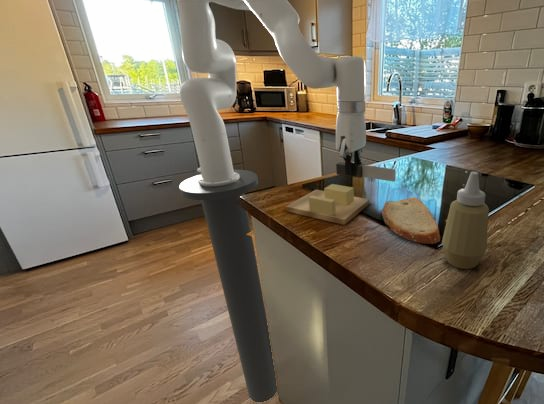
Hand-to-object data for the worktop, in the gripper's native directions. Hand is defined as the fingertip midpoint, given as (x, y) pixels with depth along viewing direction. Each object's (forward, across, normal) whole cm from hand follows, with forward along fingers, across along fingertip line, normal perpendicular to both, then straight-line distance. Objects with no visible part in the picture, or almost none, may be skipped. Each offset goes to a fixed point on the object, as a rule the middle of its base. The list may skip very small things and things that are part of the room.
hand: (353, 173), depth 86 cm
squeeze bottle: (+8, +20, +35) cm, 41 cm away
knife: (+1, 0, +4) cm, 4 cm away
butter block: (+6, +8, 0) cm, 10 cm away
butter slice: (+6, +16, 0) cm, 17 cm away
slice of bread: (+7, +9, +21) cm, 24 cm away
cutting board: (+7, +10, -2) cm, 13 cm away
